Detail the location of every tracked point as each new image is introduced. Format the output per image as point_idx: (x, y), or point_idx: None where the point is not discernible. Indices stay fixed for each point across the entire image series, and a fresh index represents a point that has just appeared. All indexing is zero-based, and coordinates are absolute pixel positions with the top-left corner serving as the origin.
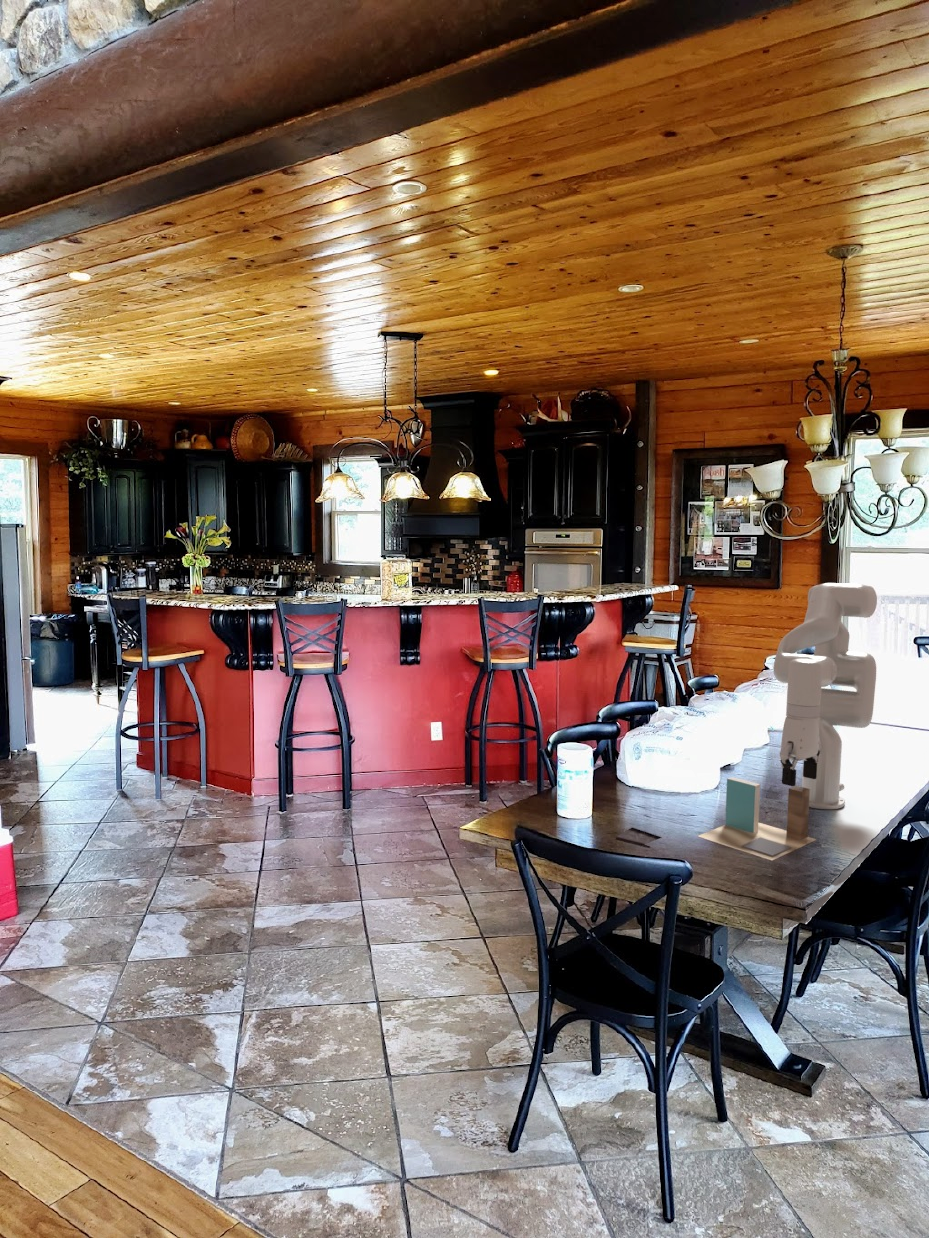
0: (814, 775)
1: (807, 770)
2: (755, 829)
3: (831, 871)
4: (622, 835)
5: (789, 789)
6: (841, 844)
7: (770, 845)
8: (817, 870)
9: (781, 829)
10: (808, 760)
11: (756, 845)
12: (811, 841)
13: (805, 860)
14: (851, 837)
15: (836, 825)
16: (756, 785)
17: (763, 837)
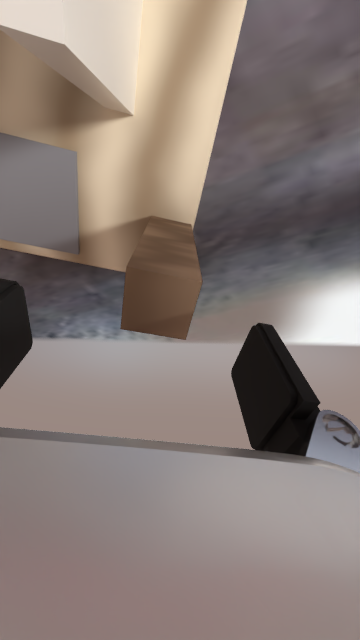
0: (234, 386)
1: (255, 371)
2: (113, 108)
3: (62, 333)
4: None
5: (127, 269)
6: (211, 315)
7: (40, 206)
8: (44, 315)
9: (201, 182)
10: (288, 434)
11: (3, 168)
12: None
13: (72, 286)
14: (263, 320)
15: (334, 280)
16: (6, 22)
17: (97, 156)
